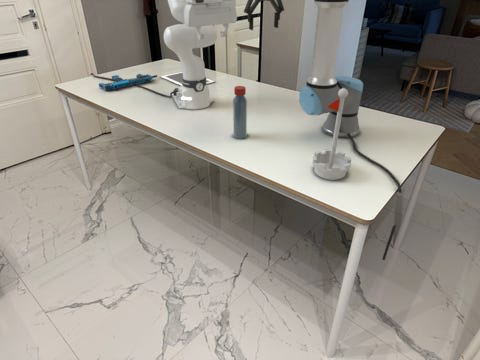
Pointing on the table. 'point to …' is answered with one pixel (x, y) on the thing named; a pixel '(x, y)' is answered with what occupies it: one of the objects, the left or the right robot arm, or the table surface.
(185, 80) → the left robot arm
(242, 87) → the cap
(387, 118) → the table surface
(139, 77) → the submachine gun
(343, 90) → the flag stand
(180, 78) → the tablet
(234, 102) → the bottle
